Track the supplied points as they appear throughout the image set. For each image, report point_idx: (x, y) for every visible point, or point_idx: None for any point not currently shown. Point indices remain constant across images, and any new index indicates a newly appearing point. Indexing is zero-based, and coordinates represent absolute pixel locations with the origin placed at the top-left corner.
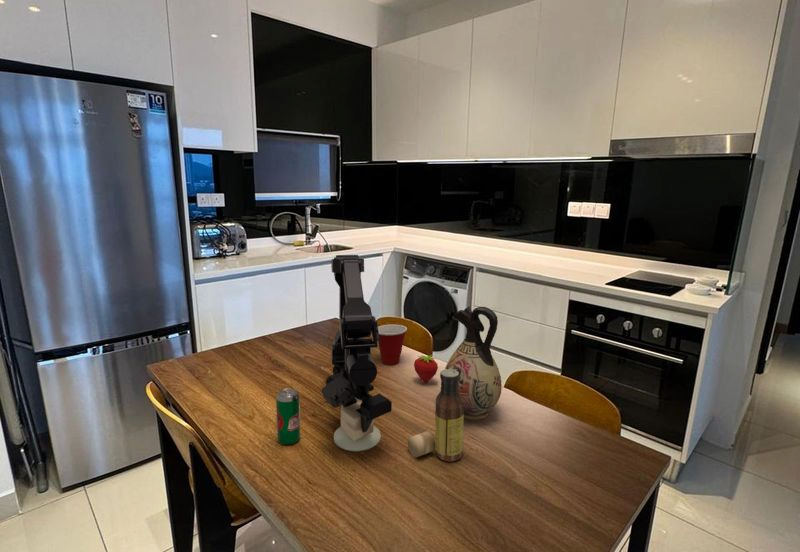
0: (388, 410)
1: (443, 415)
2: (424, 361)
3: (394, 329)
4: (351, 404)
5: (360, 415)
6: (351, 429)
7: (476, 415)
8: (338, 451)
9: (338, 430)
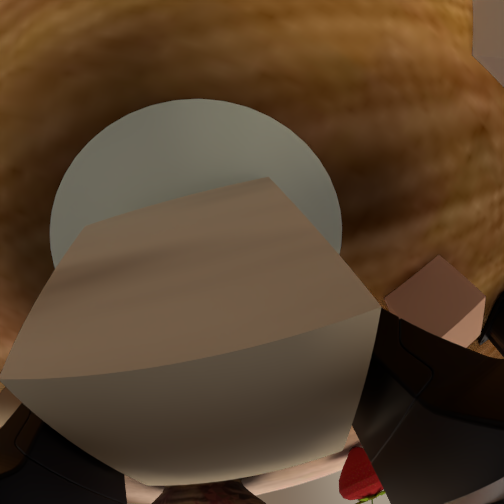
0: None
1: None
2: (370, 494)
3: None
4: (365, 408)
5: (26, 451)
6: (89, 259)
7: (164, 490)
8: (92, 97)
9: (307, 169)
